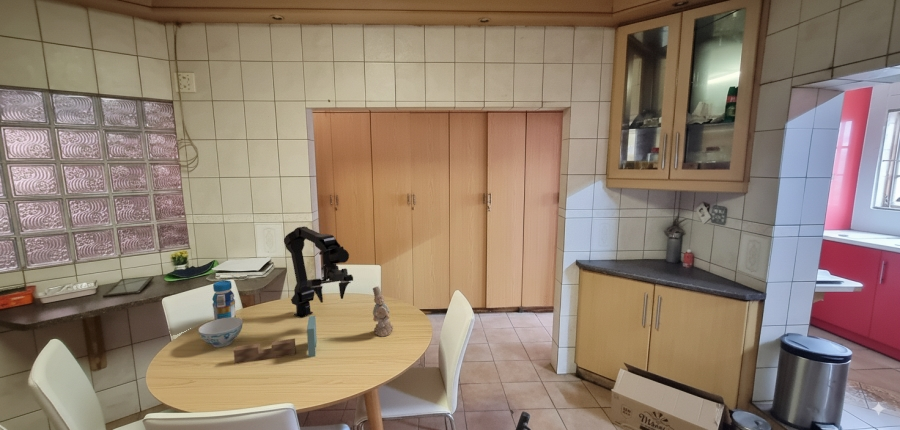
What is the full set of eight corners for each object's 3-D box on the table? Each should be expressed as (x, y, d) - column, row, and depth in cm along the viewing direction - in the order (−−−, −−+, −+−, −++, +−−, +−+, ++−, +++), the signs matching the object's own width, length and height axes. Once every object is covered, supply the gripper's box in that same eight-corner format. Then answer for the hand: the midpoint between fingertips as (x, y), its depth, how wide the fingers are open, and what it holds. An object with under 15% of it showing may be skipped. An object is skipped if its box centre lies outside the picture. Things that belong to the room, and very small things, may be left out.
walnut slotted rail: (234, 363, 127) (233, 350, 126) (236, 359, 130) (235, 346, 129) (294, 354, 133) (294, 342, 133) (295, 350, 136) (294, 338, 136)
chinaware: (252, 338, 146) (251, 321, 145) (215, 356, 132) (213, 336, 131) (229, 331, 152) (227, 314, 151) (191, 347, 139) (189, 329, 138)
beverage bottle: (210, 327, 156) (206, 284, 153) (228, 320, 163) (224, 278, 161) (223, 331, 153) (219, 286, 150) (241, 323, 160) (237, 280, 158)
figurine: (373, 328, 155) (371, 284, 152) (392, 326, 156) (391, 283, 154) (373, 338, 146) (371, 291, 143) (394, 336, 148) (392, 290, 145)
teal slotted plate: (310, 342, 143) (308, 316, 141) (316, 341, 143) (315, 315, 142) (308, 357, 131) (306, 329, 130) (315, 356, 132) (313, 328, 131)
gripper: (316, 265, 140) (319, 305, 139) (358, 261, 154) (361, 297, 152) (305, 266, 148) (307, 304, 147) (345, 262, 161) (348, 297, 160)
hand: (332, 300), depth 151 cm, fingers open, 9 cm apart
